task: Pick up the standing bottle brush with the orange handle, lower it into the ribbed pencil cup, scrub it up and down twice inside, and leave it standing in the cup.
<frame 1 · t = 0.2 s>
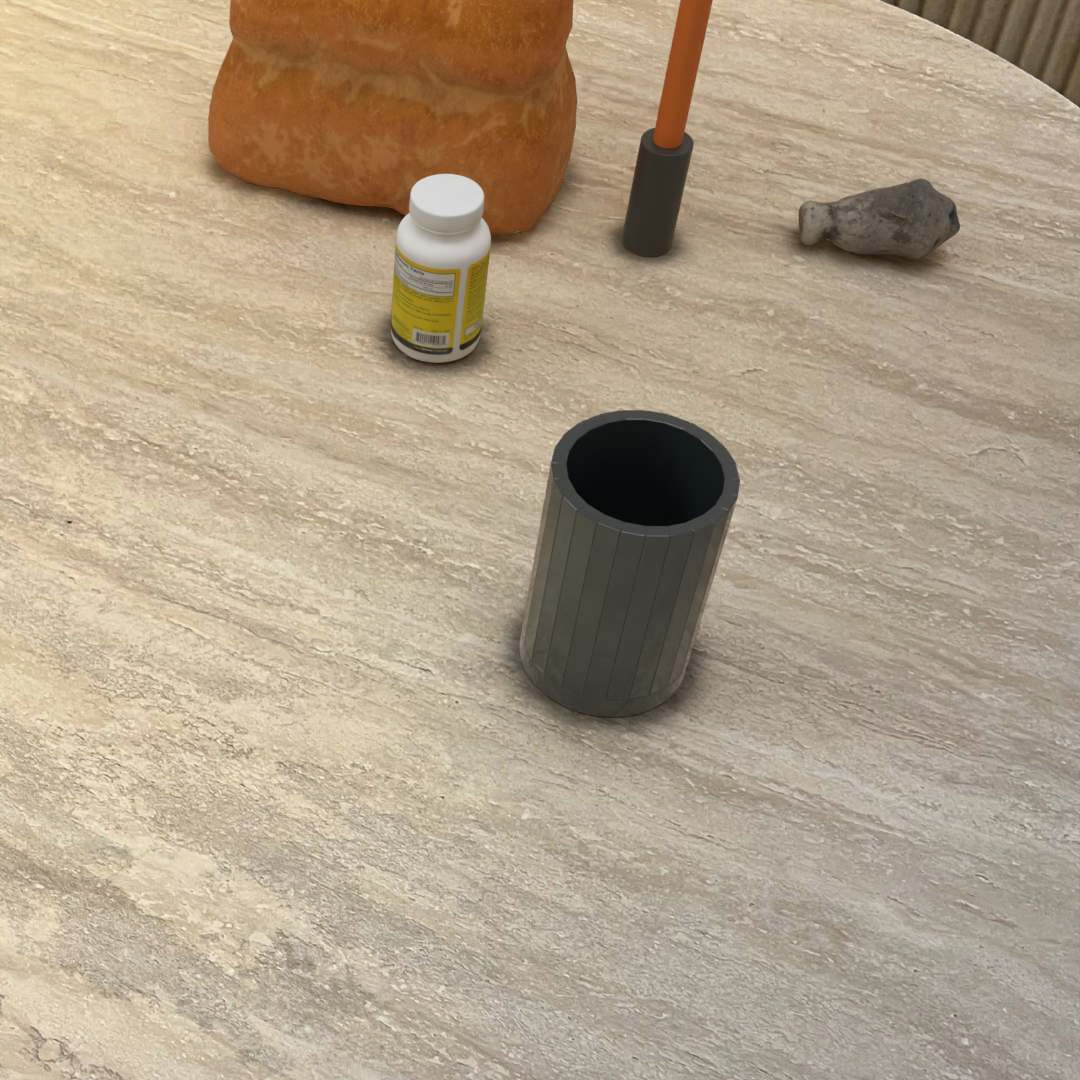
pill bottle: (434, 339, 116), on the table
ribbed pencil cup: (602, 654, 98), on the table
stone: (869, 253, 122), on the table
bread: (391, 164, 129), on the table
brush: (646, 242, 123), on the table
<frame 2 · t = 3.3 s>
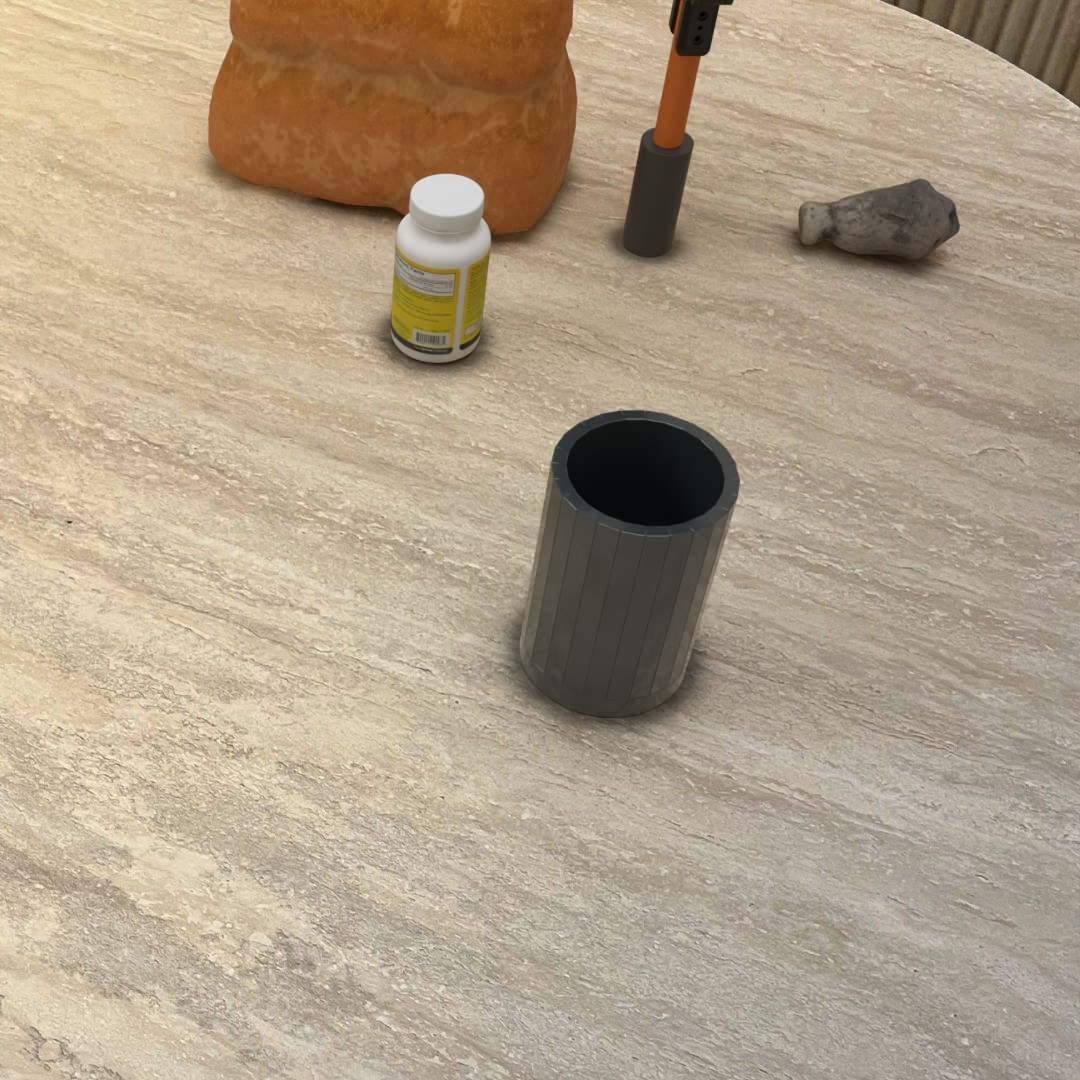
hand: (688, 41, 111), 15 cm above the table, tool pointing down, fingers closed on brush, 2 cm apart
brush: (646, 241, 123), on the table, touching gripper
everything else where it was.
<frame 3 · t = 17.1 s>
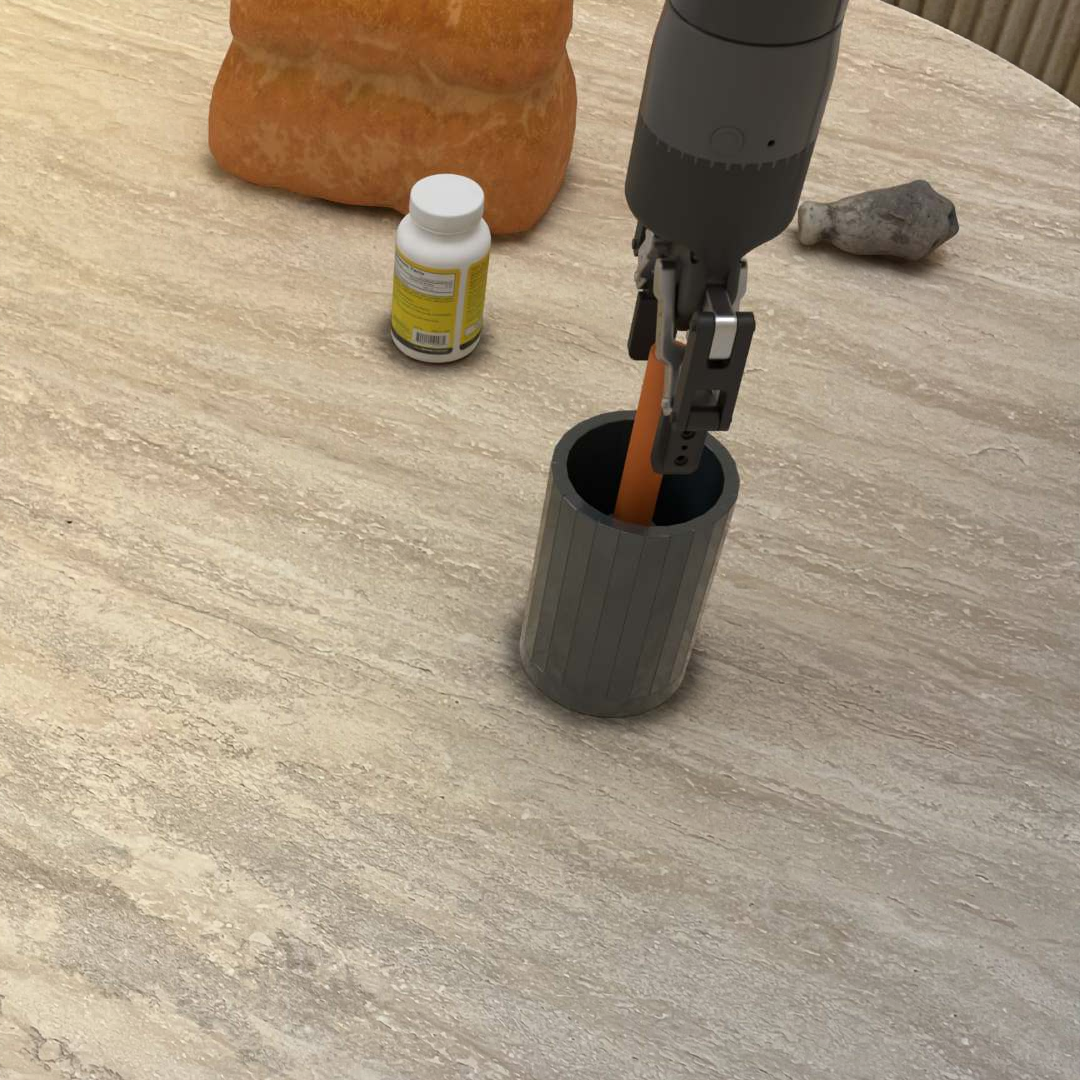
hand: (659, 410, 84), 18 cm above the table, tool pointing down, fingers open, 8 cm apart
brush: (604, 636, 97), point 1 cm above the table, touching ribbed pencil cup
everything else where it was.
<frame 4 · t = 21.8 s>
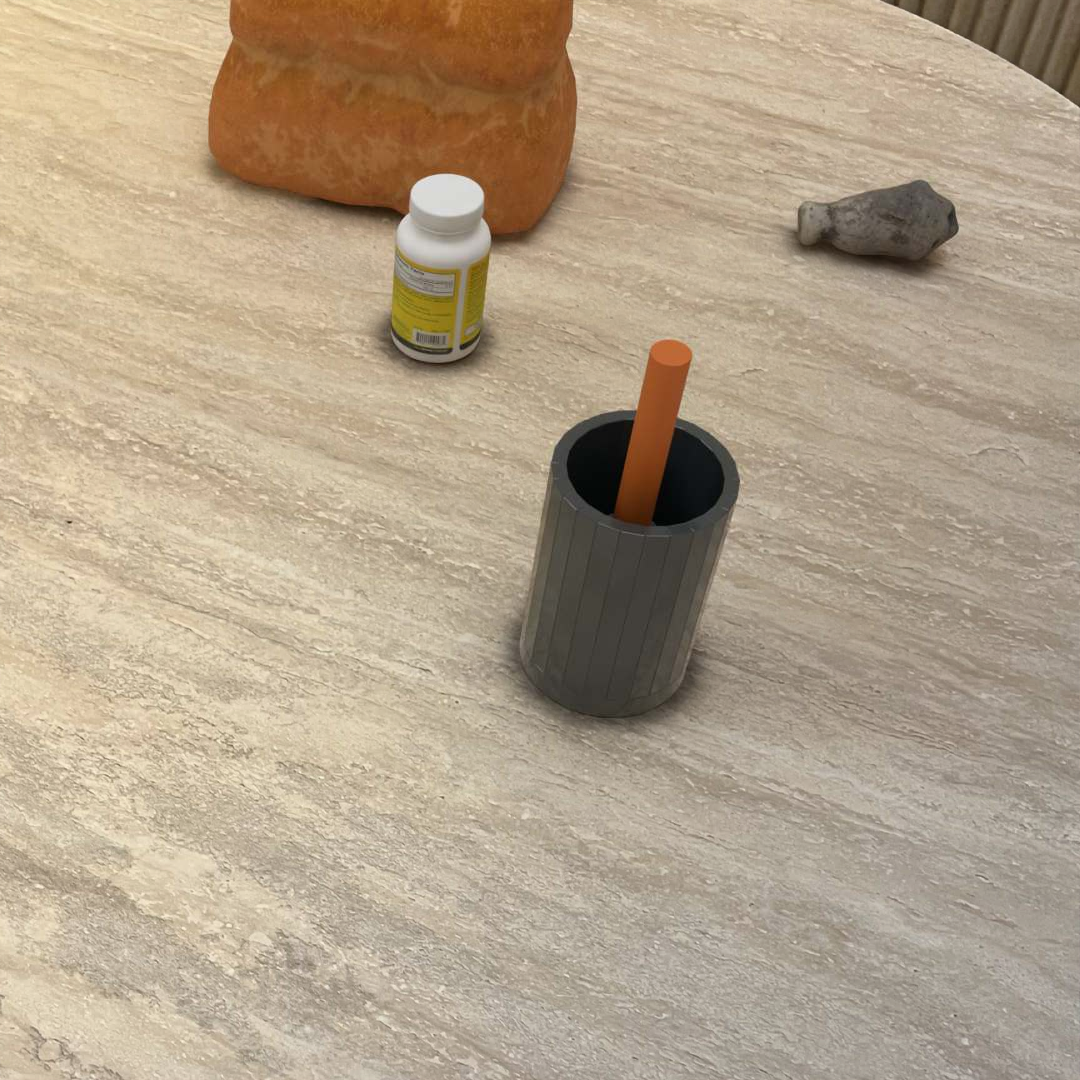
nothing on the table moved.
at the end: brush inside the target area in the ribbed pencil cup (0.1 cm from its centre), point 1.5 cm above the ribbed pencil cup's base; the gripper is holding nothing; brush moved 40.8 cm from its start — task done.
